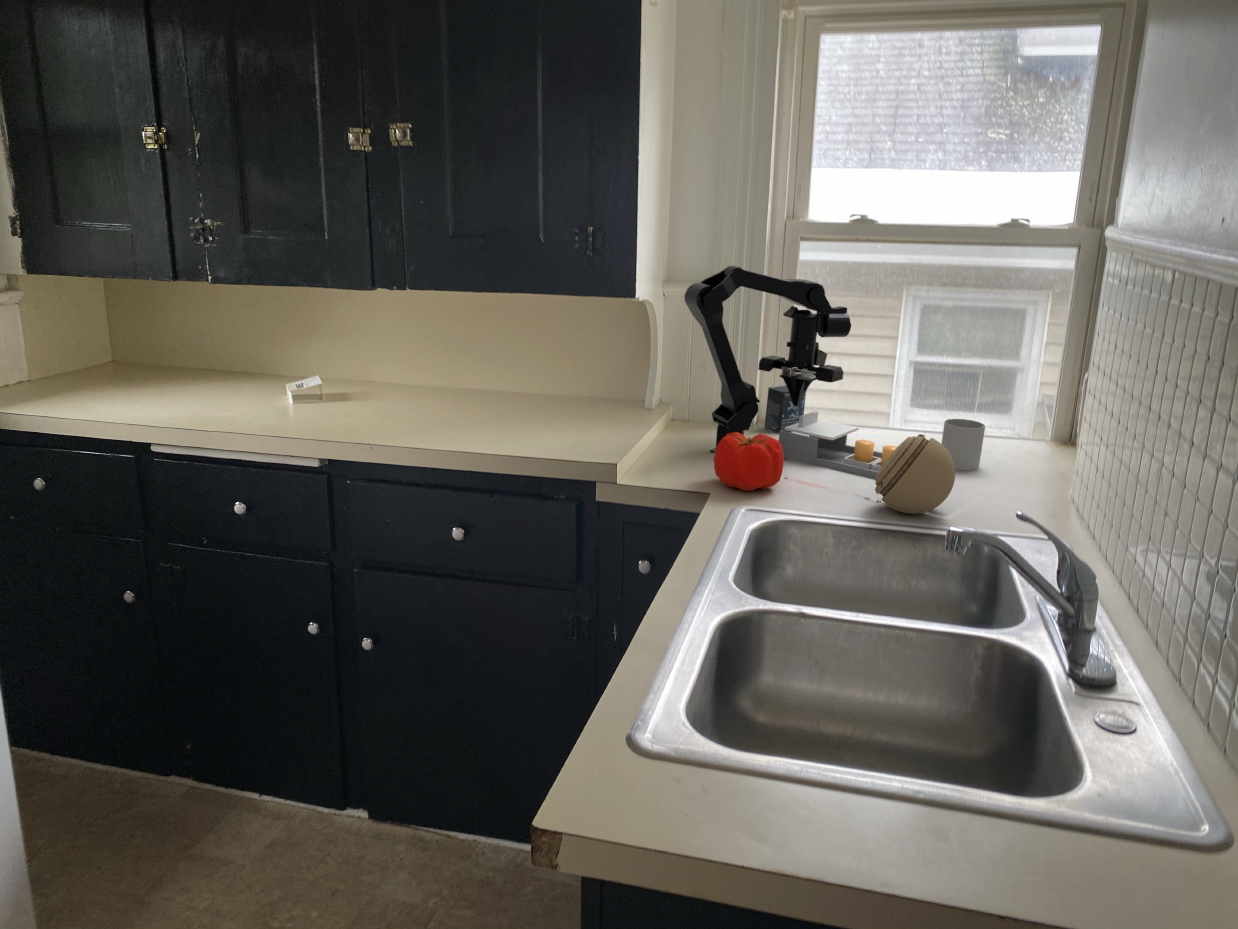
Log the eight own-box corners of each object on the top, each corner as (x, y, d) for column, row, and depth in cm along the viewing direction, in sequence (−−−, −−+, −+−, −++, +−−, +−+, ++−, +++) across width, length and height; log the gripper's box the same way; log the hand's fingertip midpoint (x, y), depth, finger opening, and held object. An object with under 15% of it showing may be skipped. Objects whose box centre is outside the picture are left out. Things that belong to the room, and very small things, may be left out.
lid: (832, 440, 205) (833, 426, 204) (784, 430, 212) (785, 416, 211) (858, 430, 214) (859, 417, 213) (811, 420, 221) (813, 407, 220)
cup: (980, 465, 213) (986, 422, 211) (976, 475, 206) (983, 430, 203) (940, 459, 217) (946, 416, 214) (936, 469, 210) (942, 424, 207)
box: (779, 434, 233) (783, 391, 230) (763, 428, 238) (767, 386, 235) (803, 430, 238) (807, 388, 235) (787, 425, 242) (791, 384, 239)
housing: (888, 484, 197) (892, 455, 196) (777, 457, 213) (779, 430, 211) (917, 469, 209) (921, 442, 207) (809, 445, 224) (812, 419, 222)
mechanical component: (916, 496, 191) (926, 423, 186) (966, 521, 177) (978, 443, 173) (852, 502, 186) (860, 427, 181) (898, 528, 172) (909, 448, 168)
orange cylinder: (894, 474, 202) (896, 451, 201) (876, 470, 205) (879, 448, 203) (902, 470, 205) (905, 448, 203) (885, 466, 207) (888, 444, 206)
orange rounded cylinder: (866, 468, 206) (869, 445, 204) (849, 464, 208) (852, 442, 207) (874, 464, 209) (877, 442, 207) (857, 460, 211) (860, 438, 210)
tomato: (705, 490, 189) (708, 439, 186) (723, 473, 201) (726, 424, 198) (773, 501, 184) (777, 448, 181) (787, 482, 196) (792, 432, 193)
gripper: (858, 339, 214) (850, 407, 218) (784, 328, 225) (778, 393, 230) (835, 344, 206) (827, 415, 210) (759, 333, 217) (754, 400, 221)
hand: (796, 405), depth 218 cm, fingers closed
